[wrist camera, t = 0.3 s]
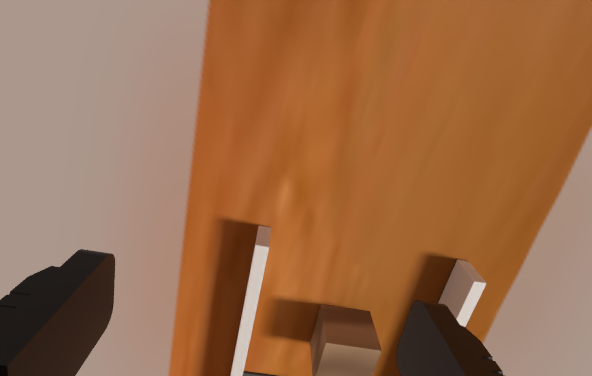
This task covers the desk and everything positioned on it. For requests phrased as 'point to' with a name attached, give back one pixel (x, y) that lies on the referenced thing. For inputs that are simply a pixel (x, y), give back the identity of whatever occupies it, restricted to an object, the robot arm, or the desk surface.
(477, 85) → the desk surface
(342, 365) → the walnut block
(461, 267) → the box
